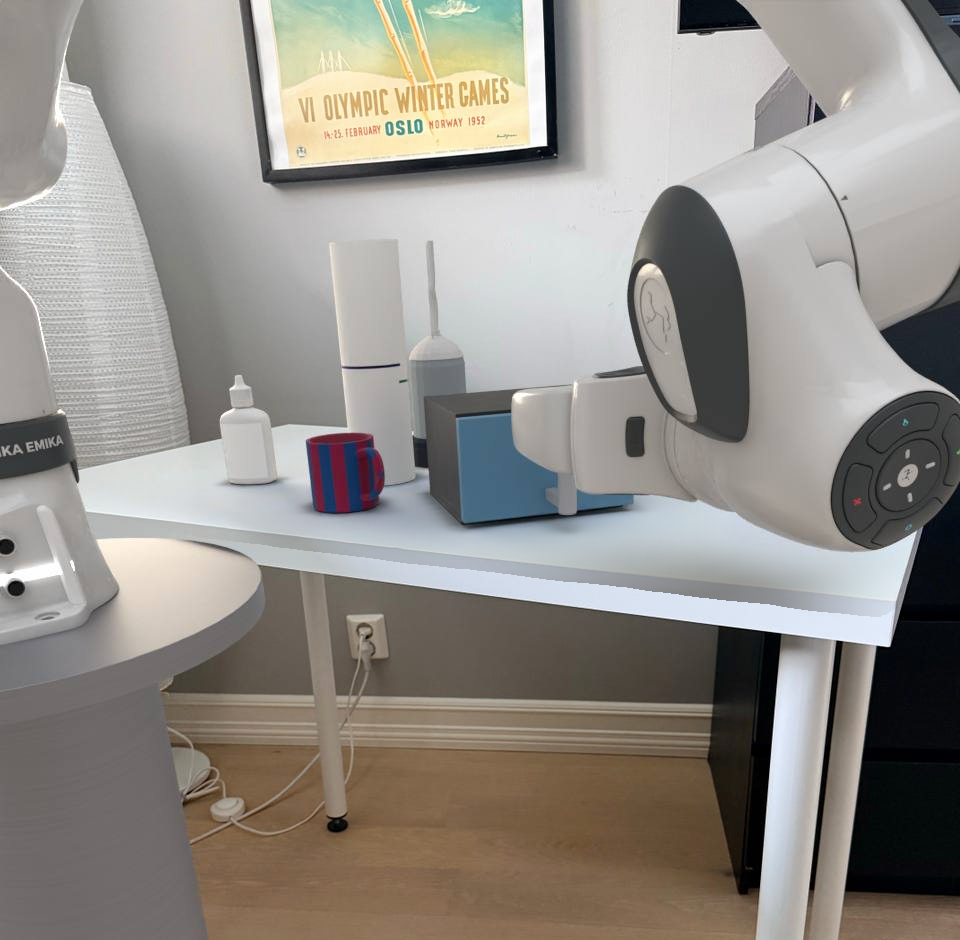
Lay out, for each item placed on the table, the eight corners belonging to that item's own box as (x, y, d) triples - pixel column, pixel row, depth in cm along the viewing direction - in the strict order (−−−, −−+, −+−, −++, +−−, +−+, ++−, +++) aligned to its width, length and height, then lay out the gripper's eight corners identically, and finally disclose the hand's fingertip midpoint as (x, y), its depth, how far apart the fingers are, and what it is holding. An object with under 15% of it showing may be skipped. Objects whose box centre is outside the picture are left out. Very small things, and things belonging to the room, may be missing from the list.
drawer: (658, 517, 82) (660, 411, 79) (479, 538, 78) (473, 428, 75) (581, 476, 99) (581, 388, 96) (432, 492, 96) (426, 401, 92)
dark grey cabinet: (623, 506, 89) (624, 399, 85) (461, 524, 85) (455, 414, 82) (572, 478, 101) (571, 384, 98) (430, 493, 98) (423, 396, 94)
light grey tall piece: (480, 453, 118) (469, 239, 108) (470, 466, 110) (457, 237, 101) (417, 454, 119) (402, 243, 109) (403, 468, 111) (385, 242, 102)
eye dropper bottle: (252, 487, 105) (236, 378, 100) (223, 482, 108) (207, 376, 104) (283, 480, 108) (269, 374, 103) (254, 475, 111) (239, 372, 107)
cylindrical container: (340, 480, 106) (315, 244, 97) (390, 469, 111) (370, 242, 101) (377, 488, 101) (354, 240, 92) (428, 477, 106) (411, 238, 96)
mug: (360, 494, 99) (353, 430, 96) (407, 510, 91) (402, 440, 89) (302, 505, 96) (294, 438, 93) (347, 522, 88) (339, 450, 85)
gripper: (885, 353, 54) (759, 340, 67) (553, 382, 50) (485, 362, 62) (873, 460, 57) (754, 429, 69) (556, 498, 52) (490, 456, 64)
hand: (625, 397), depth 66 cm, fingers open, 8 cm apart
